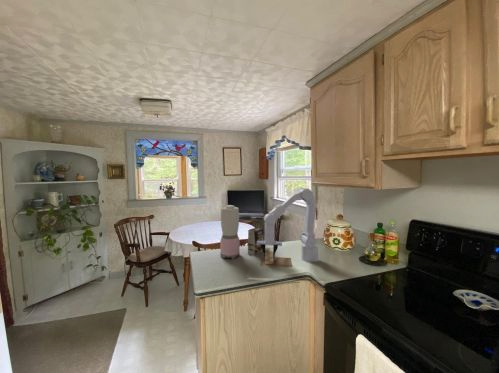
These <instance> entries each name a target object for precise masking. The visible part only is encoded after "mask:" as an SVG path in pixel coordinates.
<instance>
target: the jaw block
mask: <svg viewBox="0 0 499 373" xmlns="http://www.w3.org/2000/svg"><path fill="white" fill-rule="evenodd" d="M265 264H273V247H265Z"/></svg>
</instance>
